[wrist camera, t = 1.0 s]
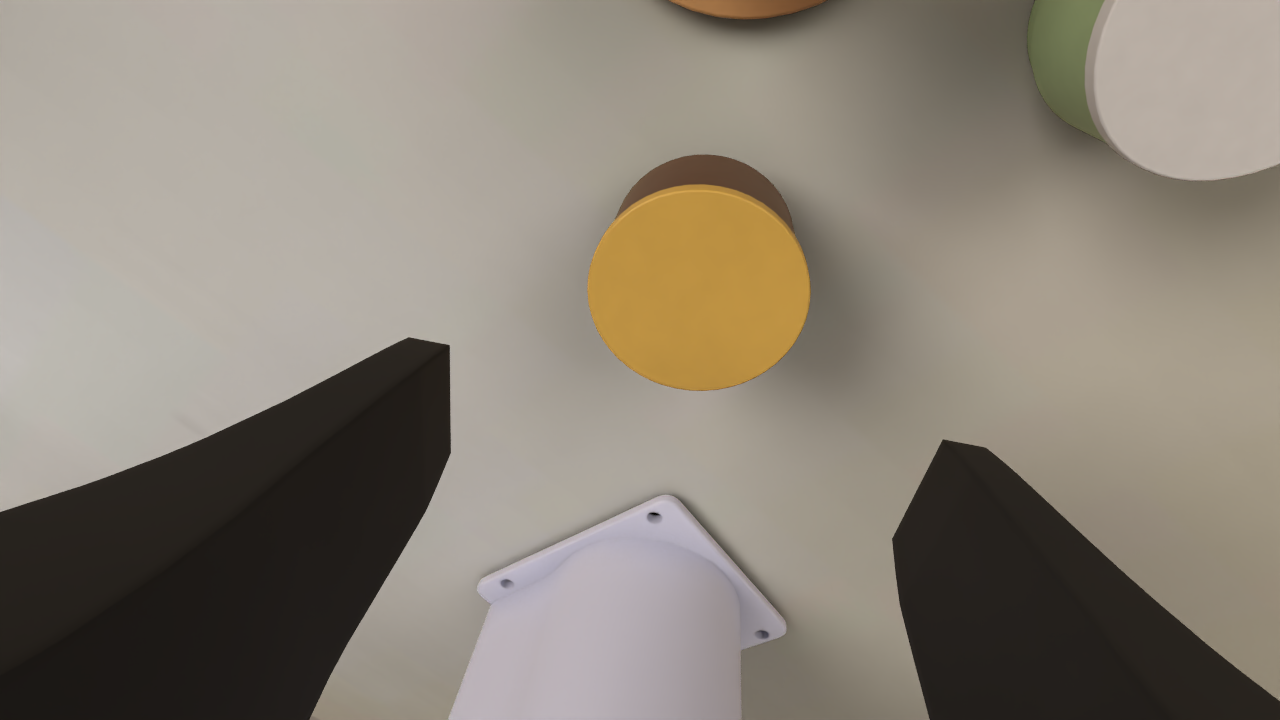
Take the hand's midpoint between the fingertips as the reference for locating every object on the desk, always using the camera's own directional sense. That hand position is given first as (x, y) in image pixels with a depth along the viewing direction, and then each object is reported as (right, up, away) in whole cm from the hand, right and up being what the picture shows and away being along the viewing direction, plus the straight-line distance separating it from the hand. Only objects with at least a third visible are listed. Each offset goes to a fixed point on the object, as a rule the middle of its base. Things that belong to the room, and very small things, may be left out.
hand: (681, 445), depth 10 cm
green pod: (+10, +9, +4) cm, 14 cm away
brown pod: (+1, +5, +8) cm, 9 cm away
